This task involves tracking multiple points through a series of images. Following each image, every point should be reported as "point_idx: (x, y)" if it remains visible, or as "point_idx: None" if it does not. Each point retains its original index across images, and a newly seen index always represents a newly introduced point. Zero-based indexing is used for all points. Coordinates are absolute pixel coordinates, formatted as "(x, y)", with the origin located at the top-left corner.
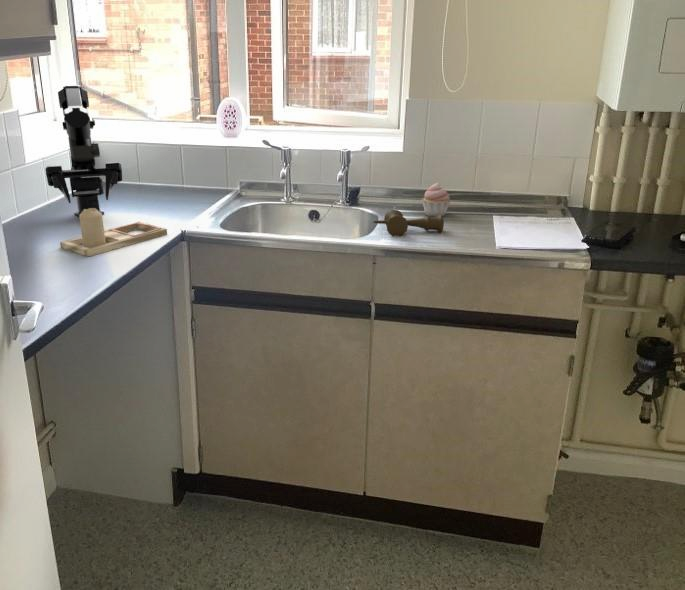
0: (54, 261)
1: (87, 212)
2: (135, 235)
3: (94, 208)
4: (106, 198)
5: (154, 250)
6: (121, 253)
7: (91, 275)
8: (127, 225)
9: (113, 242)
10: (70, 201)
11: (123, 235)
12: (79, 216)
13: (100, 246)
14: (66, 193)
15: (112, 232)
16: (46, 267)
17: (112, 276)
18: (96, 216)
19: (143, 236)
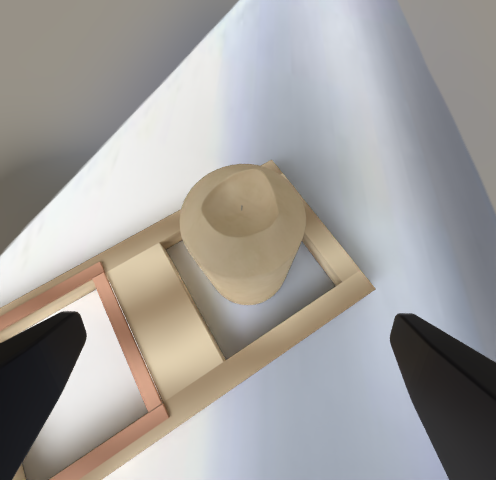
0: (364, 160)
1: (258, 168)
2: (91, 271)
3: (210, 223)
4: (77, 314)
5: (84, 169)
6: (177, 171)
7: (267, 50)
8: (68, 470)
9: None
10: (395, 329)
11: (131, 299)
12: (303, 207)
13: None
14: (487, 367)
15: (162, 366)
16: (378, 122)
17: (224, 36)
18: (215, 170)
19: (65, 275)
